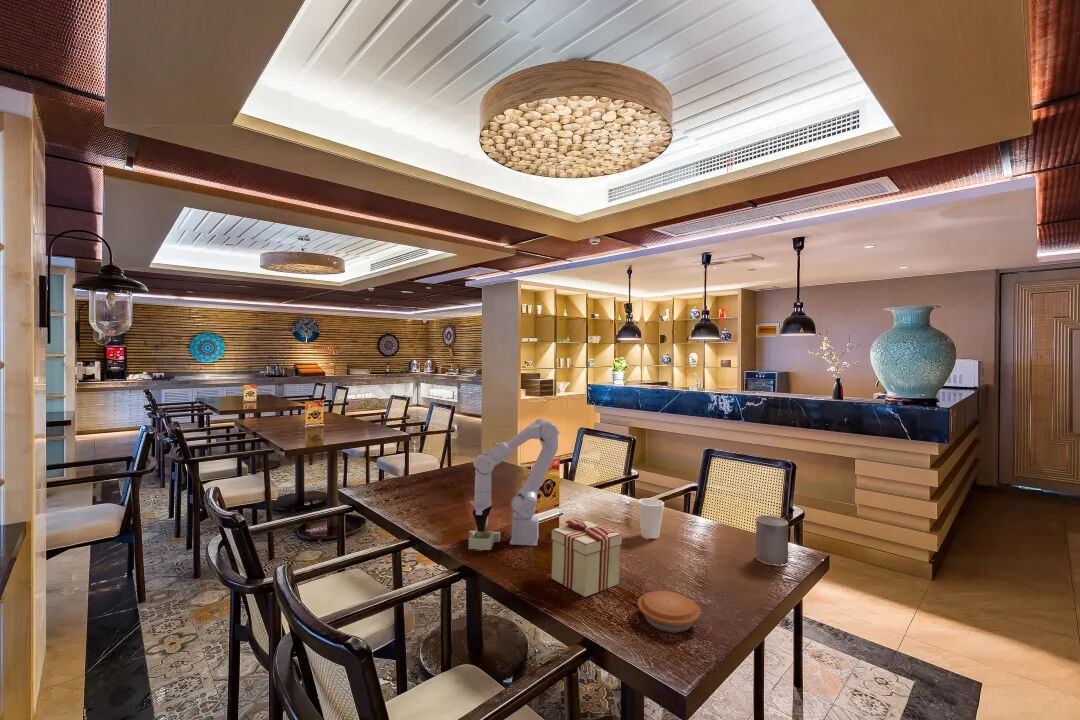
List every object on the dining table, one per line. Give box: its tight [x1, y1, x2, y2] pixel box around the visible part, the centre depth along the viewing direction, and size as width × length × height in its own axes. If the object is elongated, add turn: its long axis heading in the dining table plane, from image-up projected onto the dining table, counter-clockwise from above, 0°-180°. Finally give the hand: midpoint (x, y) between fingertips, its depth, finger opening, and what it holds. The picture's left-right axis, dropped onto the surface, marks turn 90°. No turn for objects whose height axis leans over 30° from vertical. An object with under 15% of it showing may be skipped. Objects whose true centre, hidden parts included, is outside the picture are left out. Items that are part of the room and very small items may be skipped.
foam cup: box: [637, 497, 665, 538], centre depth 179 cm, size 10×9×13 cm
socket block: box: [468, 530, 495, 551], centre depth 167 cm, size 8×8×4 cm
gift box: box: [551, 517, 623, 598], centre depth 143 cm, size 17×18×17 cm
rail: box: [468, 530, 501, 543], centre depth 171 cm, size 11×2×3 cm, turn 87°
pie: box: [636, 590, 701, 633], centre depth 122 cm, size 15×16×5 cm
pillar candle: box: [755, 515, 789, 565], centre depth 160 cm, size 10×10×15 cm
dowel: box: [475, 516, 489, 538], centre depth 166 cm, size 4×4×8 cm
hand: (482, 529), depth 166 cm, fingers closed on dowel, 4 cm apart
